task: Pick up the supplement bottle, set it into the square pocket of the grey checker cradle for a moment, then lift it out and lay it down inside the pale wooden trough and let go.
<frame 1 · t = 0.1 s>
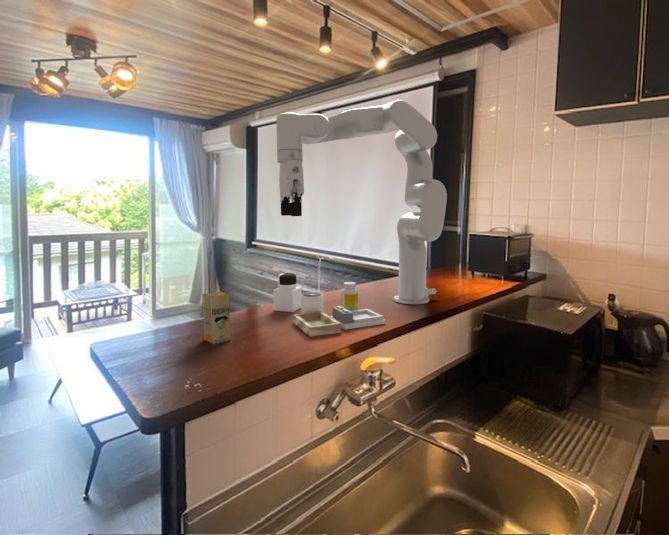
hand: (291, 215, 121), 31 cm above the worktop, fingers open, 9 cm apart
supplement bottle: (349, 312, 130), on the worktop
checker cradle: (357, 321, 119), on the worktop
medicine bottle: (288, 309, 134), on the worktop
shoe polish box: (217, 340, 103), on the worktop
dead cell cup: (312, 316, 125), on the worktop
trough: (316, 327, 113), on the worktop
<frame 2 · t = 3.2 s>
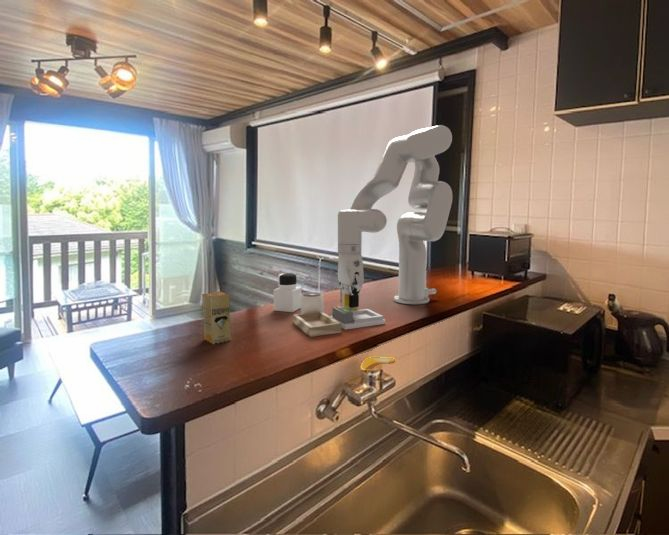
hand: (349, 304, 129), 3 cm above the worktop, fingers closed on supplement bottle, 5 cm apart
supplement bottle: (349, 312, 130), on the worktop, touching gripper
everything else where it was.
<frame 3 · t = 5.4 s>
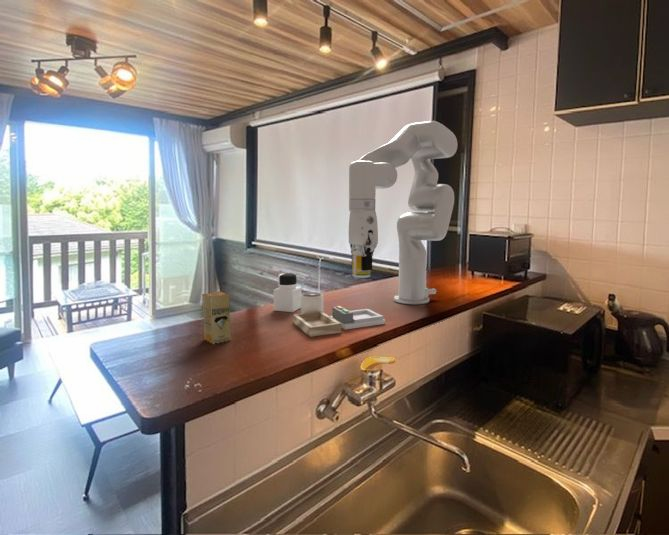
hand: (361, 267, 117), 16 cm above the worktop, fingers closed on supplement bottle, 5 cm apart
supplement bottle: (361, 277, 117), point 13 cm above the worktop, touching gripper
everything else where it was.
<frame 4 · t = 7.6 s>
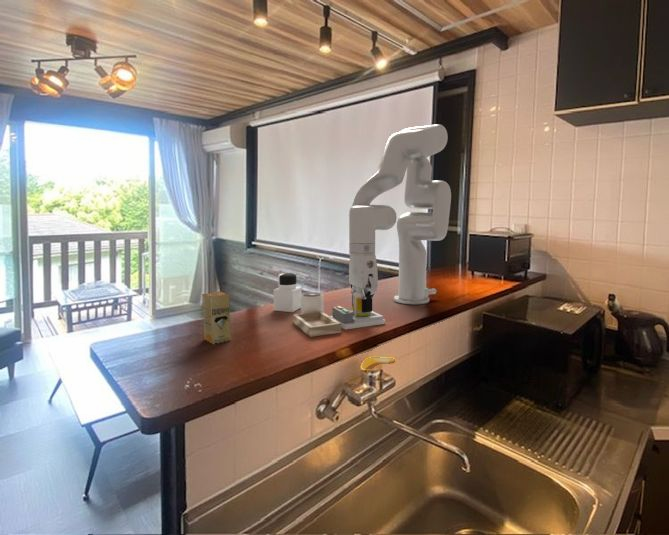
hand: (361, 308, 119), 4 cm above the worktop, fingers closed on supplement bottle, 5 cm apart
supplement bottle: (361, 317, 119), point 1 cm above the worktop, touching checker cradle, gripper
everything else where it was.
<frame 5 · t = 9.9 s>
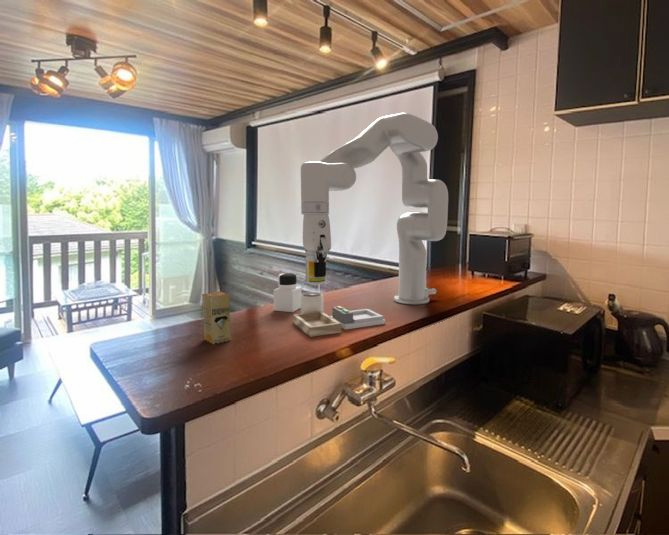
hand: (315, 274, 111), 15 cm above the worktop, fingers closed on supplement bottle, 5 cm apart
supplement bottle: (315, 283, 111), point 13 cm above the worktop, touching gripper
everything else where it was.
when the fingers open (5 cm above the worktop, at t = 12.1 s): supplement bottle drops 2 cm, resting on trough.
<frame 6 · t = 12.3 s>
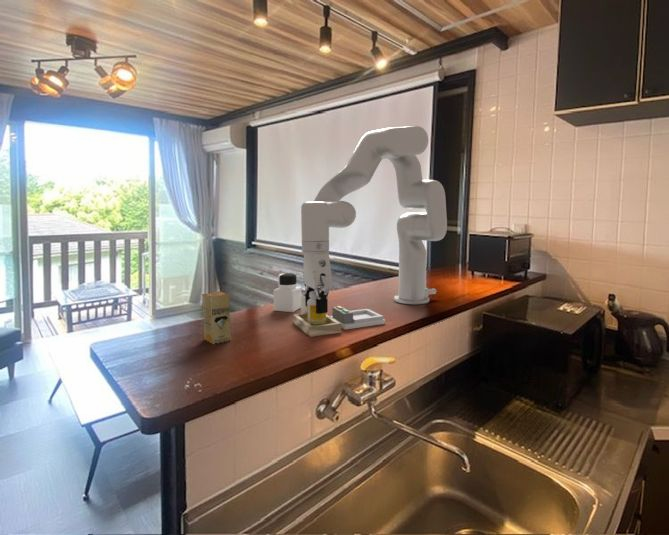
hand: (316, 309, 113), 5 cm above the worktop, fingers open, 7 cm apart
supplement bottle: (316, 326, 113), resting on trough
everything else where it was.
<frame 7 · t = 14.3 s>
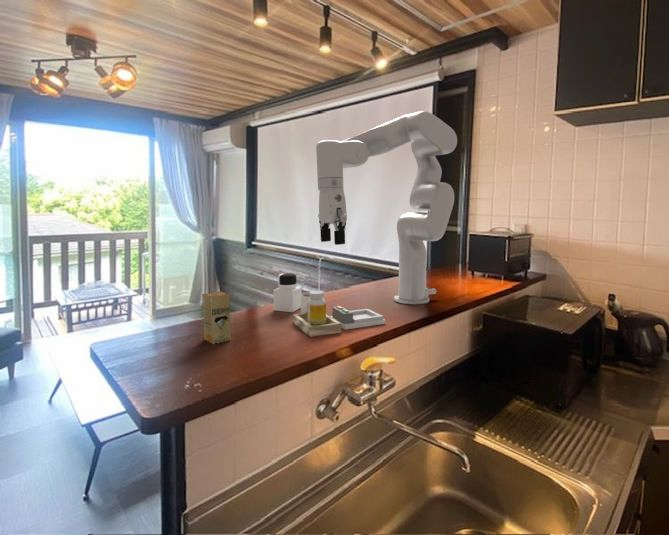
hand: (332, 242, 120), 23 cm above the worktop, fingers open, 9 cm apart
nothing on the worktop moved.
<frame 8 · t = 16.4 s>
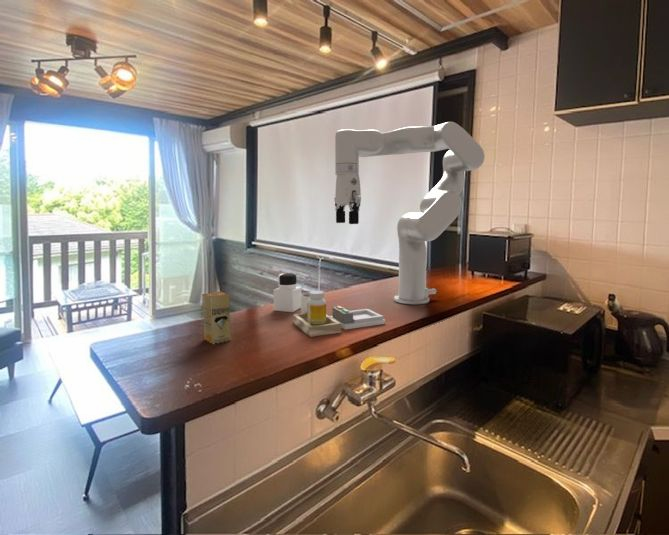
hand: (346, 223, 132), 28 cm above the worktop, fingers open, 9 cm apart
nothing on the worktop moved.
at the end: supplement bottle inside the target area on the trough (0.1 cm from its centre), point 0.4 cm above the trough's base; supplement bottle tilted 0°; the gripper is holding nothing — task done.
